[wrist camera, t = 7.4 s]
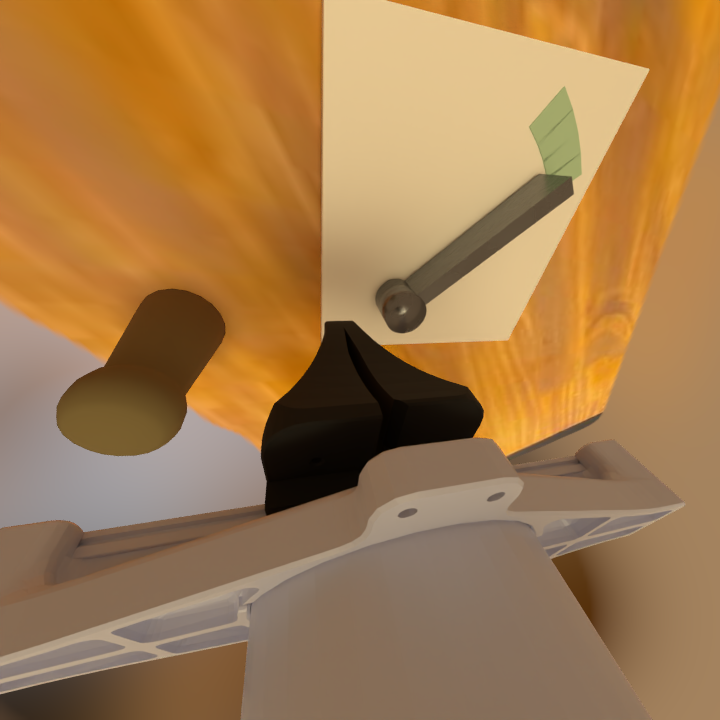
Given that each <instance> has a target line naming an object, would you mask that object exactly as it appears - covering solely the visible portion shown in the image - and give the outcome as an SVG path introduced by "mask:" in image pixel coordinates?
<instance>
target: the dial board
mask: <svg viewBox="0 0 720 720" xmlns="http://www.w3.org/2000/svg"><path fill="white" fill-rule="evenodd" d="M649 70H650V69H648V68H644V67H640V66H636V65H632V64H628V63H624V62H621V61H617V60H613V59H609V58H605V57H601V56H598V55H594V54H590V53H586V52H582V51H578V50H575V49H571V48H567V47H563V46H559V45H555V44H551V43H548V42H544V41H540V40H536V39H532V38H528V37H525V36H521V35H517V34H513V33H509V32H505V31H501V30H498V29H494V28H490V27H486V26H482V25H478V24H475V23H471V22H467V21H463V20H459V19H455V18H451V17H448V16H444V15H440V14H436V13H432V12H428V11H425V10H421V9H417V8H413V7H409V6H405V5H402V4H398V3H394V2H390V1H386V0H322V141H321V343H322V340H323V337H324V323H325V322H326V321H354V322H355V323H356V324H357V325H358V326H359V327H360V328H361V329H362V330H363V331H364V332H365V333H366V334H368V335H369V336H370V337H371V338H372V339H373V340H374V341H375V342H377V343H378V344H379V345H390V344H418V343H446V342H474V341H502V340H508V339H509V337H510V335H511V333H512V331H513V329H514V327H515V326H516V324H517V322H518V320H519V318H520V316H521V314H522V312H523V310H524V308H525V306H526V305H527V303H528V301H529V299H530V297H531V295H532V293H533V291H534V289H535V287H536V285H537V284H538V282H539V280H540V278H541V276H542V274H543V272H544V270H545V268H546V266H547V264H548V263H549V261H550V259H551V257H552V255H553V253H554V251H555V249H556V247H557V245H558V243H559V242H560V240H561V238H562V236H563V234H564V232H565V230H566V228H567V226H568V224H569V222H570V221H571V219H572V217H573V215H574V213H575V211H576V209H577V207H578V205H579V203H580V201H581V200H582V198H583V196H584V194H585V192H586V190H587V188H588V186H589V184H590V182H591V180H592V179H593V177H594V175H595V173H596V171H597V169H598V167H599V165H600V163H601V161H602V159H603V158H604V156H605V154H606V152H607V150H608V148H609V146H610V144H611V142H612V140H613V138H614V137H615V135H616V133H617V131H618V129H619V127H620V125H621V123H622V121H623V119H624V117H625V116H626V114H627V112H628V110H629V108H630V106H631V104H632V102H633V100H634V98H635V96H636V95H637V93H638V91H639V89H640V87H641V85H642V83H643V81H644V79H645V77H646V75H647V74H648V72H649ZM538 174H548V175H560V176H572V182H573V190H574V195H572V196H571V197H570V198H568V199H567V200H566V201H564V202H563V203H562V204H560V205H559V206H558V207H556V208H555V209H554V210H552V211H551V212H550V213H548V214H547V215H546V216H544V217H543V218H542V219H540V220H539V221H538V222H536V223H535V224H533V225H532V226H531V227H529V228H528V229H527V230H525V231H524V232H523V233H521V234H520V235H519V236H517V237H516V238H515V239H513V240H512V241H511V242H509V243H508V244H507V245H505V246H504V247H503V248H501V249H500V250H499V251H497V252H496V253H495V254H493V255H492V256H491V257H489V258H488V259H487V260H485V261H484V262H483V263H481V264H480V265H479V266H477V267H476V268H475V269H473V270H472V271H470V272H469V273H468V274H466V275H465V276H464V277H462V278H461V279H460V280H458V281H457V282H456V283H454V284H453V285H452V286H450V287H449V288H448V289H446V290H445V291H444V292H442V293H441V294H440V295H438V296H437V297H436V298H434V299H433V300H432V301H430V302H429V303H428V304H426V308H427V312H426V316H425V319H424V321H423V322H422V323H421V325H420V326H419V327H417V328H416V329H415V330H413V331H411V332H408V333H396V332H393V331H392V330H390V329H389V327H388V326H387V324H386V322H385V320H384V319H383V317H382V315H381V313H380V311H379V309H378V308H377V306H376V302H375V297H376V293H377V291H378V289H379V288H380V286H381V285H382V284H383V283H385V282H386V281H388V280H391V279H402V280H404V281H405V280H406V279H407V278H408V277H410V276H411V275H412V274H413V273H415V272H416V271H417V270H419V269H420V268H421V267H422V266H424V265H425V264H426V263H427V262H429V261H430V260H431V259H432V258H434V257H435V256H436V255H437V254H439V253H440V252H441V251H442V250H444V249H445V248H446V247H447V246H449V245H450V244H451V243H453V242H454V241H455V240H456V239H458V238H459V237H460V236H461V235H463V234H464V233H465V232H466V231H468V230H469V229H470V228H471V227H473V226H474V225H475V224H476V223H478V222H479V221H480V220H481V219H483V218H484V217H485V216H487V215H488V214H489V213H490V212H492V211H493V210H494V209H495V208H497V207H498V206H499V205H500V204H502V203H503V202H504V201H505V200H507V199H508V198H509V197H510V196H512V195H513V194H514V193H515V192H517V191H518V190H519V189H521V188H522V187H523V186H524V185H526V184H527V183H528V182H529V181H531V180H532V179H533V178H534V177H536V176H537V175H538Z"/></svg>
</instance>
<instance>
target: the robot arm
mask: <svg viewBox="0 0 720 720" xmlns="http://www.w3.org/2000/svg"><path fill="white" fill-rule="evenodd" d="M483 413H484V410H483V408H482V406H481V404H480V403H479V402H478V400H477V399H476V398H475V396H474V395H473V394H472V392H471V391H470V390H469V388H468V387H466V386H462V385H459V384H456V383H453V382H449V381H446V380H443V379H440V378H438V377H435V376H433V375H430V374H428V373H426V372H423V371H421V370H419V369H417V368H415V367H413V366H411V365H409V364H407V363H406V362H404V361H402V360H401V359H399V358H397V357H396V356H394V355H393V354H391V353H390V352H388V351H387V350H386V349H384V348H383V347H382V346H380V345H379V344H378V343H377V342H375V341H374V340H373V339H372V338H371V337H370V336H369V335H368V334H366V333H365V332H364V331H363V330H362V329H361V328H360V327H359V326H358V325H357V324H356V323H355V322H354V321H326V322H325V323H324V337H323V340H322V343H321V346H320V348H319V350H318V352H317V355H316V357H315V358H314V360H313V362H312V364H311V365H310V367H309V368H308V370H307V371H306V372H305V374H304V375H303V376H302V378H301V379H300V380H299V381H298V382H297V383H296V384H295V385H294V386H293V388H292V389H291V390H290V391H289V392H288V393H286V394H285V395H284V396H283V397H282V398H281V399H279V400H278V401H277V402H276V403H274V405H273V408H272V410H271V412H270V415H269V417H268V420H267V423H266V426H265V429H264V433H263V438H262V447H261V460H262V464H263V468H264V472H265V476H266V480H267V486H266V498H265V504H263V505H256V506H250V507H244V508H238V509H230V510H224V511H218V512H212V513H205V514H198V515H192V516H186V517H179V518H173V519H167V520H160V521H154V522H148V523H141V524H135V525H129V526H122V527H116V528H109V529H103V530H96V531H90V532H83V531H82V529H81V528H80V527H79V526H78V525H76V524H75V523H72V522H70V521H61V520H56V521H46V522H40V523H32V524H25V525H18V526H12V527H5V528H1V529H0V694H2V693H6V692H10V691H15V690H19V689H23V688H27V687H31V686H35V685H39V684H43V683H48V682H52V681H56V680H61V679H65V678H70V677H74V676H78V675H83V674H88V673H92V672H97V671H102V670H106V669H111V668H116V667H121V666H125V665H130V664H135V663H140V662H145V661H150V660H155V659H160V658H165V657H170V656H175V655H180V654H185V653H190V652H195V651H200V650H205V649H210V648H215V647H220V646H225V645H230V644H234V643H240V642H245V641H248V647H247V658H246V669H245V680H244V691H243V701H242V712H241V720H652V718H651V717H650V715H649V713H648V712H647V710H646V709H645V707H644V706H643V704H642V702H641V701H640V699H639V698H638V696H637V695H636V693H635V692H634V690H633V688H632V687H631V685H630V684H629V682H628V681H627V679H626V677H625V676H624V674H623V673H622V671H621V669H620V668H619V666H618V665H617V663H616V661H615V660H614V659H613V657H612V655H611V654H610V652H609V650H608V649H607V647H606V646H605V644H604V643H603V641H602V639H601V638H600V636H599V635H598V633H597V632H596V630H595V628H594V627H593V625H592V624H591V622H590V620H589V619H588V618H587V616H586V614H585V613H584V611H583V609H582V608H581V606H580V605H579V603H578V602H577V600H576V598H575V597H574V595H573V594H572V592H571V590H570V589H569V587H568V586H567V584H566V583H565V581H564V579H563V578H562V577H561V575H560V573H559V572H558V571H557V568H556V567H555V565H554V564H553V562H552V561H551V558H554V557H557V556H560V555H563V554H566V553H569V552H573V551H576V550H579V549H582V548H585V547H589V546H592V545H595V544H599V543H602V542H606V541H609V540H613V539H617V538H620V537H624V536H628V535H630V534H632V533H634V532H636V531H638V530H640V529H642V528H644V527H646V526H648V525H649V524H651V523H653V522H655V521H657V520H659V519H661V518H662V517H665V516H666V515H668V514H670V513H672V512H674V511H676V510H678V509H680V508H681V507H683V506H685V502H684V501H683V500H681V498H679V497H678V496H677V495H676V494H675V493H674V492H673V491H672V490H670V489H669V488H668V487H667V486H666V485H665V484H664V483H662V482H661V481H660V480H659V479H658V478H657V477H656V476H655V475H654V474H653V473H651V472H650V471H649V470H648V469H647V468H645V466H644V465H642V464H641V463H640V462H639V461H638V460H637V459H636V458H634V457H633V456H632V455H631V454H630V453H629V452H628V451H627V450H626V449H624V448H623V447H622V446H621V445H620V444H619V443H618V442H617V441H615V440H612V439H610V440H603V441H596V442H591V443H588V444H586V445H584V446H583V447H581V448H580V449H579V450H578V451H577V452H576V454H575V456H569V457H563V458H557V459H550V460H544V461H537V462H531V463H524V464H518V465H511V463H510V462H509V460H508V459H507V458H506V456H505V455H504V453H503V452H502V450H501V449H500V448H499V446H498V445H497V444H496V443H495V442H494V441H493V440H492V439H487V438H473V436H474V434H475V433H476V431H477V429H478V428H479V426H480V424H481V421H482V419H483Z"/></svg>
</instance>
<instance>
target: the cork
mask: <svg viewBox="0 0 720 720" xmlns="http://www.w3.org/2000/svg"><path fill="white" fill-rule="evenodd" d="M224 335H225V323H224V321H223V319H222V316H221V314H220V313H219V312H218V311H217V310H216V308H215V307H214V306H213V305H212V304H211V303H209V302H208V301H206V300H205V299H203V298H202V297H201V296H198V295H196V294H193V293H191V292H188V291H184V290H177V289H166V290H158V291H156V292H154V293H152V294H150V295H148V296H147V297H146V298H145V299H144V300H143V302H142V303H141V304H140V306H139V307H138V309H137V311H136V313H135V314H134V316H133V318H132V320H131V321H130V323H129V325H128V326H127V328H126V330H125V332H124V333H123V335H122V337H121V338H120V340H119V342H118V344H117V345H116V347H115V349H114V351H113V352H112V354H111V356H110V357H109V359H108V361H107V363H106V364H105V366H104V367H101V368H98V369H97V370H94V371H92V372H90V373H88V374H86V375H84V376H83V377H81V378H79V379H77V380H76V381H75V382H74V383H73V384H72V385H71V386H70V387H69V388H68V389H67V391H66V392H65V393H64V394H63V396H62V397H61V399H60V401H59V403H58V405H57V415H56V418H57V426H58V428H59V429H60V431H61V432H62V434H63V435H64V436H65V437H66V438H68V439H69V440H70V441H72V442H73V443H74V444H76V445H78V446H81V447H83V448H85V449H87V450H90V451H93V452H97V453H100V454H105V455H114V456H134V455H140V454H145V453H149V452H151V451H154V450H156V449H159V448H160V447H162V446H163V445H165V444H166V443H168V442H169V441H170V440H171V439H172V438H173V437H174V436H175V435H176V434H177V433H178V431H179V430H180V429H181V426H182V424H183V421H184V418H185V416H186V413H187V402H186V396H185V395H186V393H187V392H188V391H189V389H190V388H191V386H192V385H193V383H194V382H195V380H196V379H197V377H198V376H199V375H200V373H201V372H202V370H203V369H204V367H205V366H206V364H207V363H208V361H209V360H210V359H211V357H212V356H213V354H214V353H215V351H216V350H217V348H218V347H219V345H220V344H221V343H222V340H223V338H224Z"/></svg>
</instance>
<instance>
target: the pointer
mask: <svg viewBox="0 0 720 720" xmlns="http://www.w3.org/2000/svg"><path fill="white" fill-rule="evenodd" d="M572 195H574V190H573V182H572V176H560V175H548V174H538V175H537V176H536V177H534V178H533V179H532V180H531V181H529V182H528V183H527V184H526V185H524V186H523V187H522V188H521V189H519V190H518V191H517V192H515V193H514V194H513V195H512V196H510V197H509V198H508V199H507V200H505V201H504V202H503V203H502V204H500V205H499V206H498V207H497V208H495V209H494V210H493V211H492V212H490V213H489V214H488V215H487V216H485V217H484V218H483V219H481V220H480V221H479V222H478V223H476V224H475V225H474V226H473V227H471V228H470V229H469V230H468V231H466V232H465V233H464V234H463V235H461V236H460V237H459V238H458V239H456V240H455V241H454V242H453V243H451V244H450V245H449V246H447V247H446V248H445V249H444V250H442V251H441V252H440V253H439V254H437V255H436V256H435V257H434V258H432V259H431V260H430V261H429V262H427V263H426V264H425V265H424V266H422V267H421V268H420V269H419V270H417V271H416V272H415V273H413V274H412V275H411V276H410V277H408V278H407V279H406V280H405V281H404V280H402V279H391V280H388V281H386V282H385V283H383V284H382V285H381V286H380V288H379V289H378V291H377V293H376V297H375V302H376V306H377V308H378V309H379V311H380V313H381V315H382V317H383V319H384V320H385V322H386V324H387V326H388V327H389V329H390V330H392V331H393V332H396V333H408V332H411V331H413V330H415V329H416V328H417V327H419V326H420V325H421V323H422V322H423V321H424V319H425V316H426V312H427V308H426V304H428V303H429V302H430V301H432V300H433V299H434V298H436V297H437V296H438V295H440V294H441V293H442V292H444V291H445V290H446V289H448V288H449V287H450V286H452V285H453V284H454V283H456V282H457V281H458V280H460V279H461V278H462V277H464V276H465V275H466V274H468V273H469V272H470V271H472V270H473V269H475V268H476V267H477V266H479V265H480V264H481V263H483V262H484V261H485V260H487V259H488V258H489V257H491V256H492V255H493V254H495V253H496V252H497V251H499V250H500V249H501V248H503V247H504V246H505V245H507V244H508V243H509V242H511V241H512V240H513V239H515V238H516V237H517V236H519V235H520V234H521V233H523V232H524V231H525V230H527V229H528V228H529V227H531V226H532V225H533V224H535V223H536V222H538V221H539V220H540V219H542V218H543V217H544V216H546V215H547V214H548V213H550V212H551V211H552V210H554V209H555V208H556V207H558V206H559V205H560V204H562V203H563V202H564V201H566V200H567V199H568V198H570V197H571V196H572Z"/></svg>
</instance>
